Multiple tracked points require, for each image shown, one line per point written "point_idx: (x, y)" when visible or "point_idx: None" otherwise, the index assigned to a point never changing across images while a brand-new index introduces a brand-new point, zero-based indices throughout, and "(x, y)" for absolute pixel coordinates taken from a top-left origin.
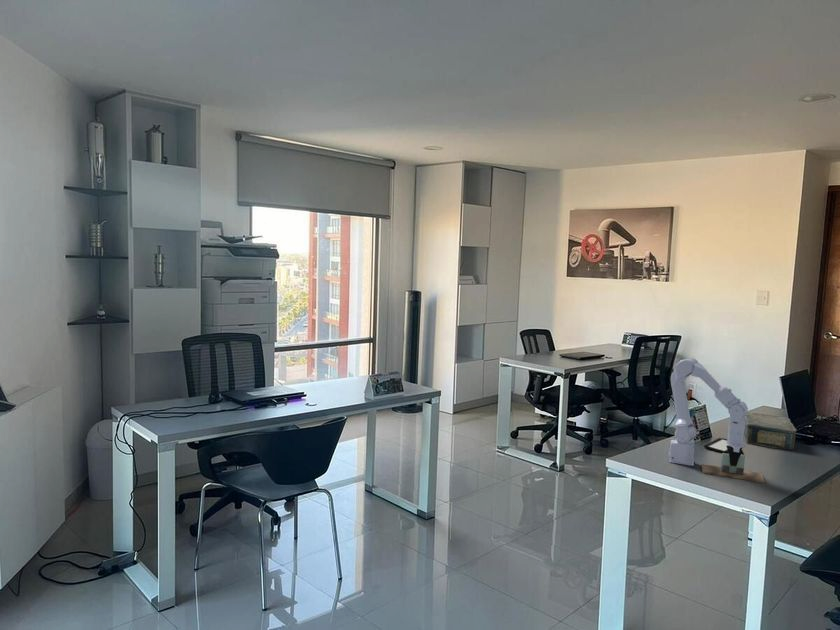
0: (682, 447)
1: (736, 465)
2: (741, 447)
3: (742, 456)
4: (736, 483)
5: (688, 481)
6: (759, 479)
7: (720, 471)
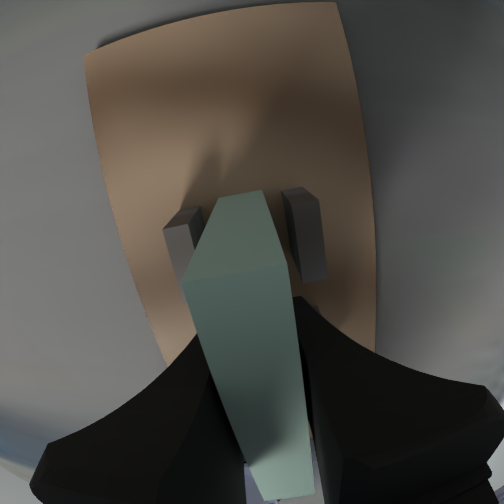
0: None
1: (303, 298)
2: (71, 498)
3: (244, 318)
4: (478, 224)
5: (501, 397)
6: (323, 40)
7: None
